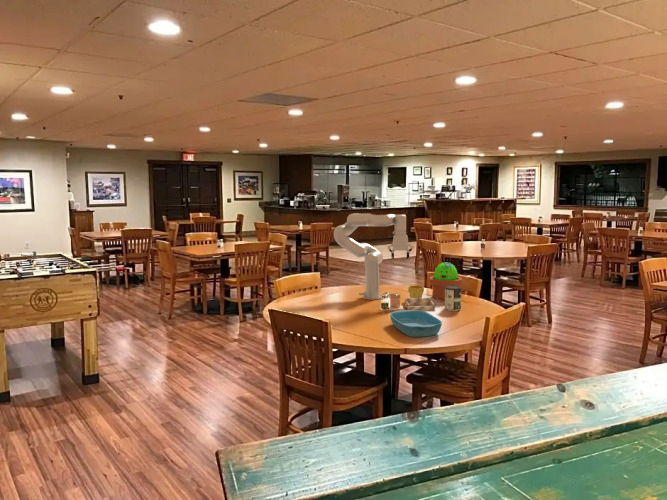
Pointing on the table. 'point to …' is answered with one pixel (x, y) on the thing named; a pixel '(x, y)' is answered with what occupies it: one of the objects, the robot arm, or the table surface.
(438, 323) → the casserole dish
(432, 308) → the frame
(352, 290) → the table surface
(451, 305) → the coffee can
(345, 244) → the robot arm
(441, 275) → the potted cactus
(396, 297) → the terracotta pot
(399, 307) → the stone tile
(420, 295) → the plant pot
